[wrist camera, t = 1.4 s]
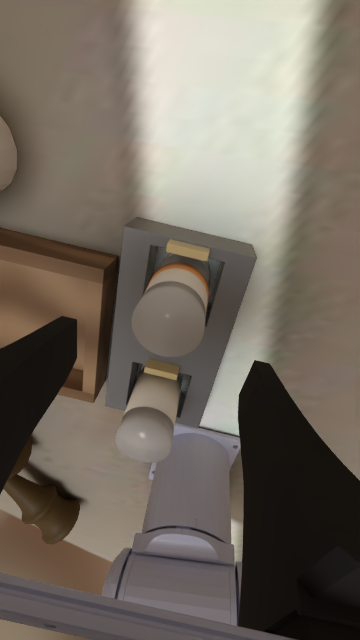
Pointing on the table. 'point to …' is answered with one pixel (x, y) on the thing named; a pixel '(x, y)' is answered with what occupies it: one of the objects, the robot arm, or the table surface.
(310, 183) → the table surface
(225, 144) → the table surface
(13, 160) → the white tapered cup
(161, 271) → the marked fuse
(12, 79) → the table surface
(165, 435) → the plain fuse
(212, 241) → the fuse holder
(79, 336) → the tray
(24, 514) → the kendama
